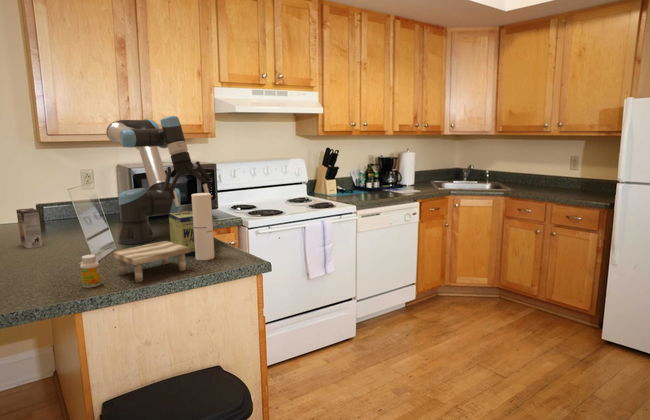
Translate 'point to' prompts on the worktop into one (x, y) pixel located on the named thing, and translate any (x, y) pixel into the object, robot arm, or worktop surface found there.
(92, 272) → the supplement bottle
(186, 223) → the protein box
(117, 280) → the worktop surface
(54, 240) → the worktop surface
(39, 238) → the coffee box
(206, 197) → the cylindrical container
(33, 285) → the worktop surface
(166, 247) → the light wood low table
